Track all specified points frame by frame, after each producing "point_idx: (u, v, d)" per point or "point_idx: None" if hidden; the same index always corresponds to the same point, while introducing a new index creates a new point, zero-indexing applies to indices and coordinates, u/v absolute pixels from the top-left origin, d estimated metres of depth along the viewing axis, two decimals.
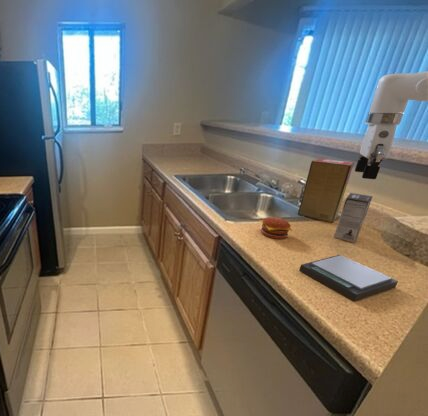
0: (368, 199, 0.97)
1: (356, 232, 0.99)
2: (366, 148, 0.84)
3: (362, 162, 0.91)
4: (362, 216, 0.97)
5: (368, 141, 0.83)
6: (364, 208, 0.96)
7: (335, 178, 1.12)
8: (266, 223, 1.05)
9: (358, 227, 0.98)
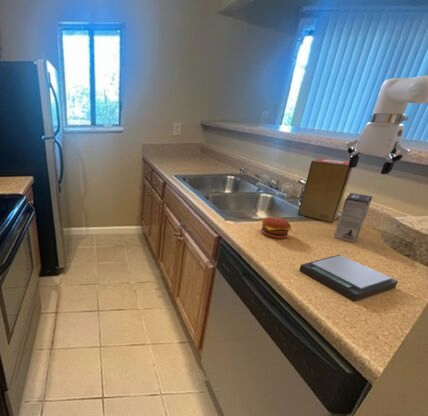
0: (368, 199, 0.97)
1: (356, 232, 0.99)
2: (382, 146, 0.90)
3: (355, 159, 0.99)
4: (362, 216, 0.97)
5: (384, 140, 0.89)
6: (364, 208, 0.96)
7: (335, 178, 1.12)
8: (266, 223, 1.05)
9: (358, 227, 0.98)
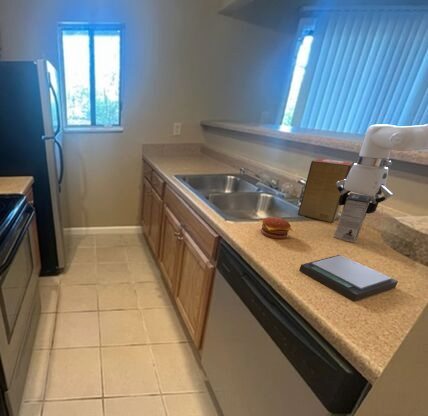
0: (368, 199, 0.97)
1: (356, 232, 0.99)
2: (368, 187, 0.95)
3: (345, 197, 1.03)
4: (362, 216, 0.97)
5: (370, 182, 0.94)
6: (364, 208, 0.96)
7: (335, 178, 1.12)
8: (266, 223, 1.05)
9: (358, 227, 0.98)
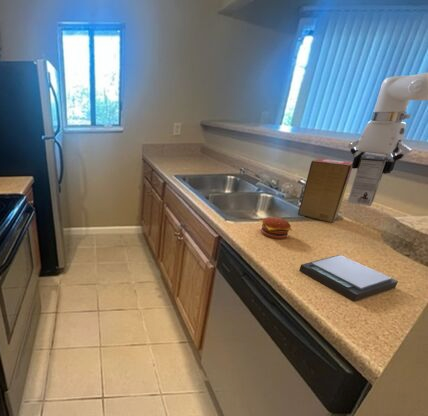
0: (384, 158, 0.91)
1: (372, 194, 0.93)
2: (384, 145, 0.89)
3: (358, 159, 0.97)
4: (378, 176, 0.91)
5: (386, 138, 0.88)
6: (380, 167, 0.90)
7: (335, 178, 1.12)
8: (266, 223, 1.05)
9: (374, 189, 0.92)
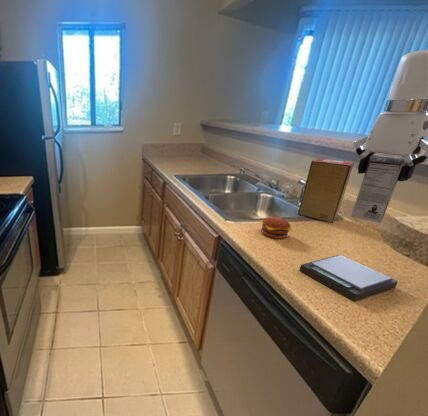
0: (400, 161, 0.69)
1: (383, 208, 0.72)
2: (401, 144, 0.67)
3: (366, 162, 0.76)
4: (392, 185, 0.69)
5: (404, 135, 0.67)
6: (395, 173, 0.68)
7: (335, 178, 1.12)
8: (266, 223, 1.05)
9: (386, 201, 0.71)
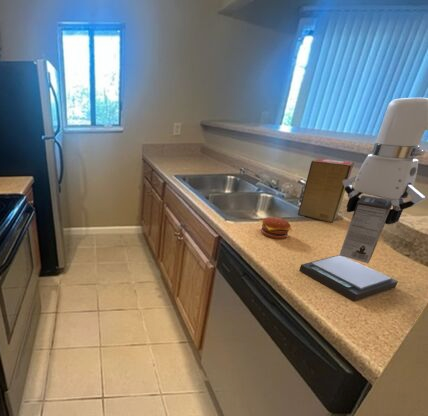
0: (388, 204, 0.69)
1: (371, 250, 0.72)
2: (389, 188, 0.67)
3: (355, 201, 0.76)
4: (380, 228, 0.69)
5: (392, 180, 0.66)
6: (383, 217, 0.68)
7: (335, 178, 1.12)
8: (266, 223, 1.05)
9: (374, 243, 0.71)
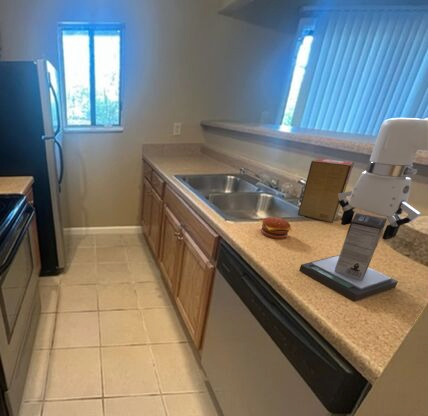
0: (381, 223, 0.71)
1: (364, 267, 0.74)
2: (383, 205, 0.69)
3: (349, 214, 0.78)
4: (373, 247, 0.71)
5: (385, 197, 0.68)
6: (376, 236, 0.70)
7: (335, 178, 1.12)
8: (266, 223, 1.05)
9: (367, 261, 0.73)
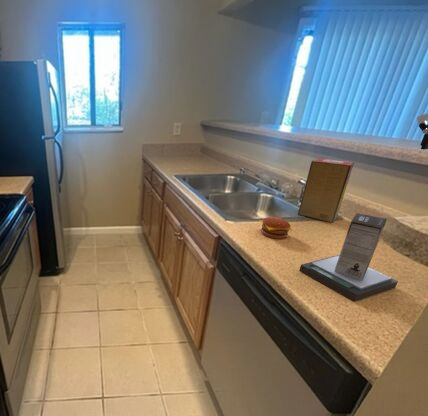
0: (381, 223, 0.71)
1: (364, 267, 0.74)
2: None
3: None
4: (373, 247, 0.71)
5: None
6: (376, 236, 0.70)
7: (335, 178, 1.12)
8: (266, 223, 1.05)
9: (367, 261, 0.73)
